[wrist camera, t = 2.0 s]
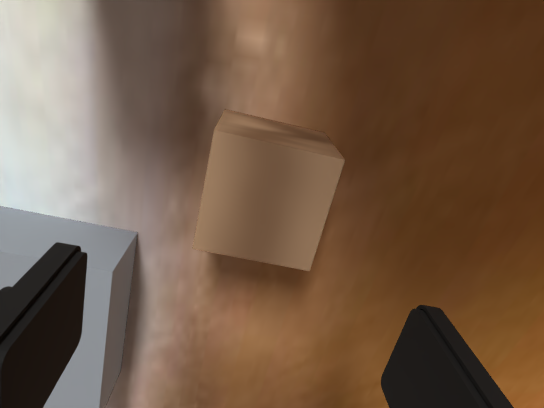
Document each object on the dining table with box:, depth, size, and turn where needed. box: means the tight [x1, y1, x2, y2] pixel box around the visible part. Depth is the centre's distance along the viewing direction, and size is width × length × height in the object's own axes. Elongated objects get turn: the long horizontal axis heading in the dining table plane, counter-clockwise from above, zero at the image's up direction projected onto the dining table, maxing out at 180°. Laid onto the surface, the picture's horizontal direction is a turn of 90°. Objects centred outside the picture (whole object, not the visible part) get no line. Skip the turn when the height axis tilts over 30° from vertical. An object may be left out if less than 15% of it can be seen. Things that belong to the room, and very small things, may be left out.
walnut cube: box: [192, 109, 345, 271], centre depth 21 cm, size 6×6×6 cm
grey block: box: [0, 206, 138, 408], centre depth 25 cm, size 12×12×5 cm
